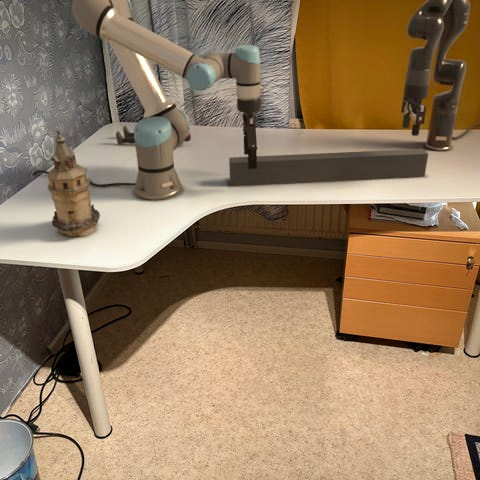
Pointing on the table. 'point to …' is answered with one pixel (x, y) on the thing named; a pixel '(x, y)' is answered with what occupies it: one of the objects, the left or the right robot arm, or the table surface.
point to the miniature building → (70, 193)
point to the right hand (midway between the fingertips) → (410, 131)
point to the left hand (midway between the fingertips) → (250, 161)
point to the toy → (130, 137)
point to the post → (329, 167)
